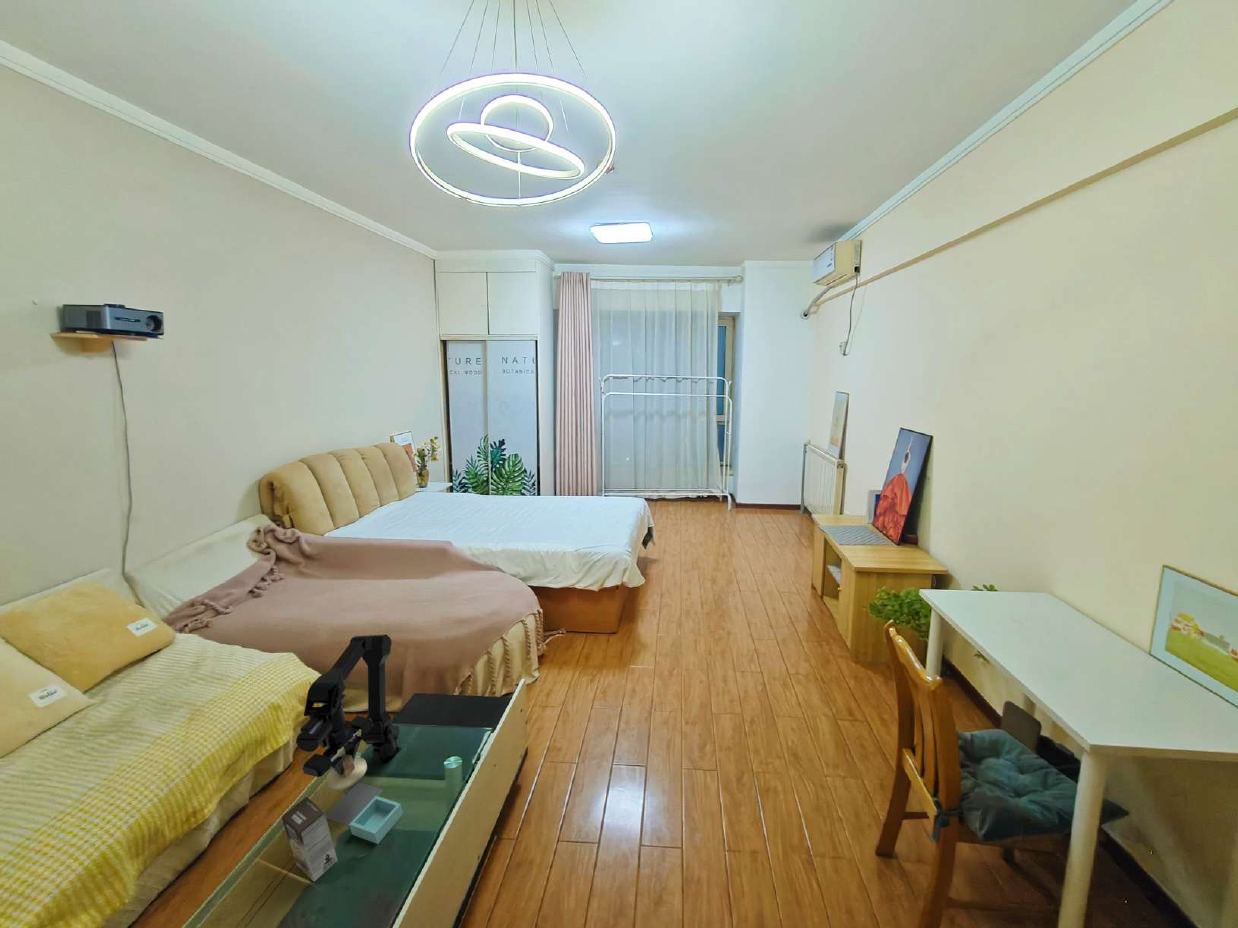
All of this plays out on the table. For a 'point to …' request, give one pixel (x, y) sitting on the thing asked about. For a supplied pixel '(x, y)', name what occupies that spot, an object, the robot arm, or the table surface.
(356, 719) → the robot arm
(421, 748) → the table surface
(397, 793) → the table surface
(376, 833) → the open box
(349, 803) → the mat
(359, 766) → the lid
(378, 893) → the table surface
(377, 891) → the table surface
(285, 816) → the coffee box
